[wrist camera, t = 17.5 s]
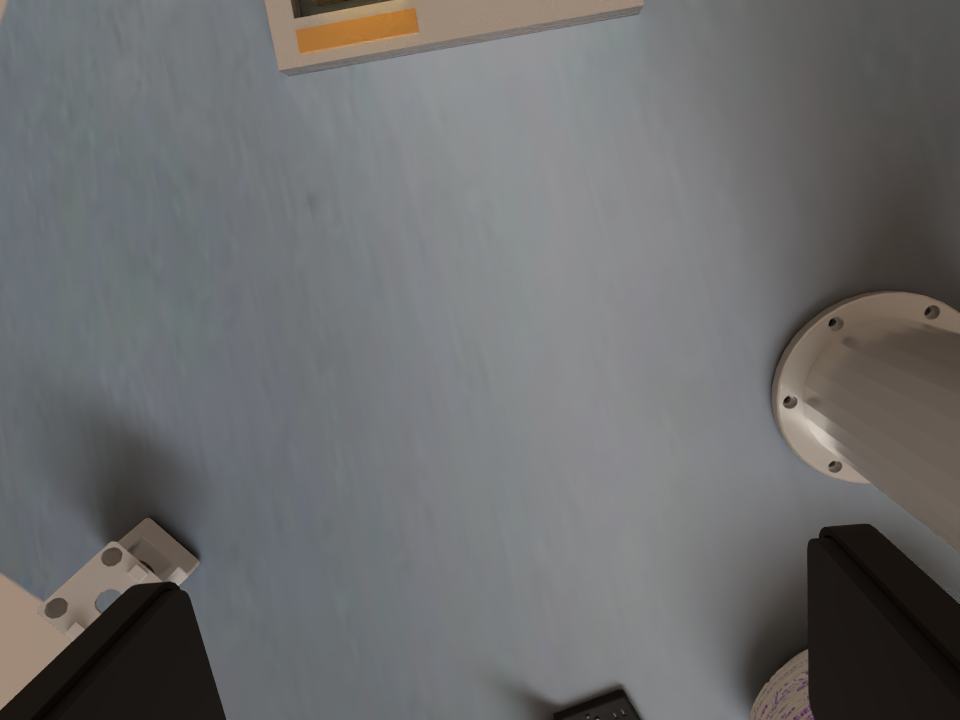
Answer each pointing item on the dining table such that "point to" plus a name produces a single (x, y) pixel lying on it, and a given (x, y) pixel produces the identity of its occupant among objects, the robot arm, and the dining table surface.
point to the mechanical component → (117, 575)
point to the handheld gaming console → (601, 709)
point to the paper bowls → (785, 693)
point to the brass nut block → (326, 2)
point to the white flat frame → (417, 27)
